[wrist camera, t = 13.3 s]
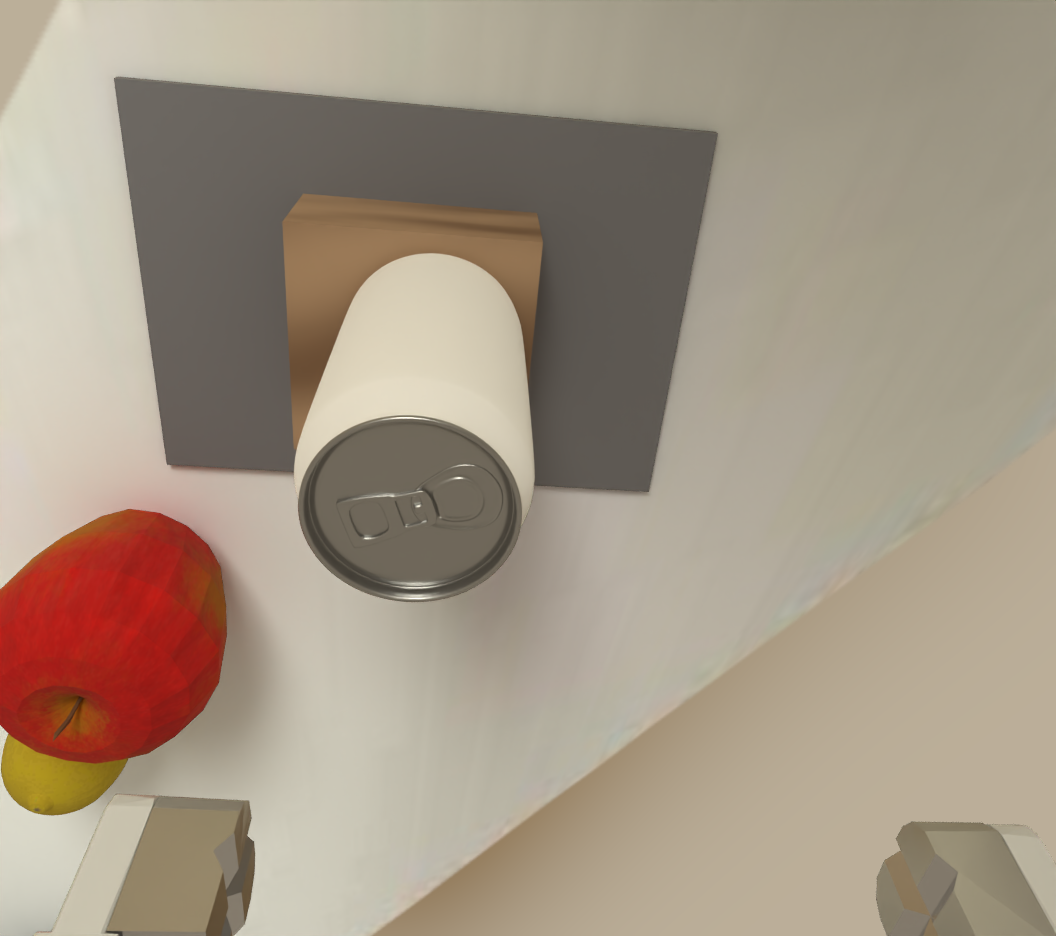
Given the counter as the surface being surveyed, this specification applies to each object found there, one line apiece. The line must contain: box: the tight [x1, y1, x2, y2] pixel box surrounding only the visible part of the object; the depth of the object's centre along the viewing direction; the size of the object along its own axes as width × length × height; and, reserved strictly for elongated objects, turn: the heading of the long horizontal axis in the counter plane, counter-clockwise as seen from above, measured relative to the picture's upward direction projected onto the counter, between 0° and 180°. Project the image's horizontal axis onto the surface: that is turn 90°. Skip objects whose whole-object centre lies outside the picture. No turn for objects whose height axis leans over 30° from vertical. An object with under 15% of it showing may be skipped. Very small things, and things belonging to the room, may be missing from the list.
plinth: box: [282, 194, 543, 450], centre depth 34 cm, size 9×9×4 cm
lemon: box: [1, 734, 128, 815], centre depth 43 cm, size 6×6×8 cm
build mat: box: [114, 77, 717, 492], centre depth 36 cm, size 16×22×1 cm
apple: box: [0, 509, 227, 764], centre depth 37 cm, size 9×9×12 cm
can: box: [294, 253, 535, 602], centre depth 27 cm, size 6×6×12 cm
